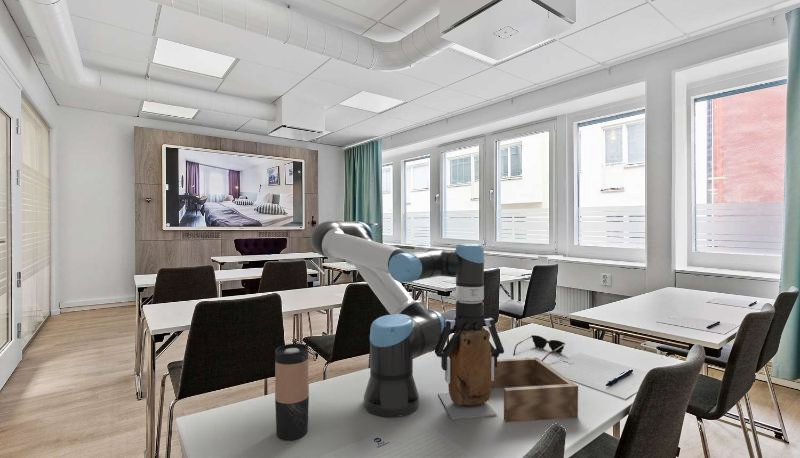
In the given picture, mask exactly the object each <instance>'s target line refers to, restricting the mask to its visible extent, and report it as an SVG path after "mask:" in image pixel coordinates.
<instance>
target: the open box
mask: <svg viewBox="0 0 800 458" xmlns="http://www.w3.org/2000/svg"><path fill="white" fill-rule="evenodd" d="M499 388H502V389H503V421H504V422H505V423H506V424H507V423H517V422H519V423H521V422H531V421H544V420H556V419H557V420H560V419H569V418H571V419H572V418H579V385H578V384H576V383H574V382H573V381H572V380H570V379H569V378H567V377H566V375H565V376H564V375H563V374H562V373H560V372H559V371H557V370H556V369H554V368H553V367H551V366H550V365H548V364H547V363H546V362H545V361H544V360H543V361H542V359H541V358H539V357H523V358H521V357H519V358H505V359H504V358H501V359H497V367H494V381H491V389H499Z"/></svg>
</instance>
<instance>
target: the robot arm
mask: <svg viewBox="0 0 800 458" xmlns="http://www.w3.org/2000/svg"><path fill="white" fill-rule="evenodd" d="M373 236H374V233H373V230H372V229H371V227H370V226H369V225H368V224H367V223H365V222H362V221H356V220H349V221H346V220H344V221H343V220H342V221H337V220H336V221H332V220H328V221H323V222H321V223H319V224H317V225H316V226H315V227H314V228H313V229H312V232H311V234H310V240H309V241H310V245H311V248H312V250H313V251H314V252H315V253H317V255H320V256H322V257H325V258H327V259H328V258H329V259H337V258H339V259H341V260H344V262H345V263H346V264H348V265H351V266H354V268H355V269H356V270H357V271H358V273H359V274H360V275H361V277H362V278H363V280H364V281H365V282H366V284H367V285H368V286H369V288H370V289H371V291H372V292H373V293H374V295H375V296H376V298H378V300H379V301H380V303H381V304H382V305H383V307H384V308H385V310H386V311H387V312H388V313H389V314H385V315H382V316H379V317H378V318H376V319H374V320H373V321H372V323H371V324H370V334H369V369H370V371H369V373H370V374H369V375H370V376H369V379H368V383H367V385H366V388H365V392H364V395H363V407H364V409H365V410H366V411H367V412H369V413H370V414H373V415H375V416H378V417H386V418H392V417H393V418H394V417H396V418H397V417H403V416H406V415H410V414H412V413H413V412H415V411H416V410H417V409H418V408H419V406H420V395H419V392H418V388H417V385H416V381H415V378H414V375H413V373H414V372H413V371H414V369H413V368H414V367H413V366H414V364H413V363H414V362H413V361H414V359H417V358H418V357H421V356H423V355H426V354H428V353H432V352H434V353H435V355H436V357H438V358H440V359H441V361H440V363H441V364H440V365H441V369H442V371H444V381H445V382H446V384H447V385H448V384H449V383H450V358H449V357H448V356H449V355H450V353H451V352H452V350H453V349H454V347H455V346H456V344H457V343H458V341H459V340H460V339H459V338H460V334H462V331H465V330H482V328H483V327H484V326H485V325H486V327H488V329H489V330H488V331H489V333H490V337H491V338H492V341H493V343H494V345H493V344H492V343H491V341H490V340H489V342H490V346H491V381H494V367H497V360H498V358H499V357H500V355H501V354H502V355H503V354H504V353H505V349H504V346H503V344H502V341H501V339H500V336H499V334H498V331H497V328H496V320H495V319H494V318H492V317H488V318H485V317H484V315H485V314H484V313H485V311H484V310H485V309H484V308H485V304H484V301H483V300H485V299H484V298H485V290H484V289H485V283H484V281H485V280H484V279H485V277H484V276H485V272H484V271H485V252H484V249H485V248H484V247H483V245H482V244H478V243H459V244H458V243H457V245H456V246H455V250H450V249H449V250H447V249H437V248H429V249H427V248H426V249H422V250H421V251H409V250H407V249H402V248H400V247H395V246H393V245H388V244H384V243H380V242H376V241H375V240H374V239H375V238H374V237H373ZM435 277H445V278H447V277H448V278H455V300H456V302H455V318H454V319H453V320H451V319H448V318H445V319H444V317H443V316H442V314H441V313H440V312H438V311H437V310H433V309H428V308H427V306H425V304H424V303H423V302H422V301H421V300H415V299H414V298H413V297H412V296H411V295H410V293H409V292H408V291H407V289H406V288H405V287H404V286H403V285H402V283H411V282H412V283H413V282H414V281H415V282H416V281H419V280H426V279H432V278H435ZM454 326H456V329H455V331H454V332H453V334H452V336H451V338H450V339H449V340H448V338H449V335H450V333H451V330H452V329H453V327H454ZM457 328H458V329H459V330H461V331H460V332H459V333H458V332H457ZM447 341H448V342H447ZM446 343H447V344H446ZM494 346H495V347H494Z"/></svg>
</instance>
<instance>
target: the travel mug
mask: <svg viewBox="0 0 800 458" xmlns="http://www.w3.org/2000/svg"><path fill="white" fill-rule="evenodd" d="M274 353H275V356H274V359H275V360H274V361H275V364H274V365H275V366H274V369H275V370H274V371H275V374H274V375H275V377H274V378H275V379H274V381H275V382H274V386H275V389H274V390H275V391H274V397H275V399H274V400H275V401H274V402H275V403H274V404H275V427H276V436H277V438H278V439H279V440H281V441H289V442H290V441H296V440H299V439H301V438H303V437H305V435H307V433H308V431H309V429H308V428H309V404H310V403H309V399H310V398H309V397H310V394H309V393H310V389H309V387H310V386H309V385H310V384H309V347H308V345H307V344H303V343H289V344H284V345H280V346H278V347H277V348H275V350H274Z"/></svg>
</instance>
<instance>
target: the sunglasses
mask: <svg viewBox="0 0 800 458" xmlns="http://www.w3.org/2000/svg"><path fill="white" fill-rule="evenodd" d="M531 338H532V343H533V344H534V346H535V348H539V349H544V348H545V347H546V346H547V344H548V346H549V348H550V349H551V351H550V352H549V353H547V354H546V355H544V357H543V358H542V359H541V360H542V361H543V362H544V360H546V358H548V357H549V355H551V354H553V353H554V352H555V353H558V354H562V353H563V350H564V349H565V348H564V347H565V345H566V342H563V341H561V340H559V339H558V340H555V339H550V340H547V339H546V338H544V337H543V336H540V335H533V334H532V335H530V336H528V337H527V338H525V339H523V340H522V341H519V342H518V343H516V344H515V347H514V349H513V356H515V355H516V350H517V346H518V345H519V344H522V343H523V342H525V341H526V340H529V339H531Z"/></svg>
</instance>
